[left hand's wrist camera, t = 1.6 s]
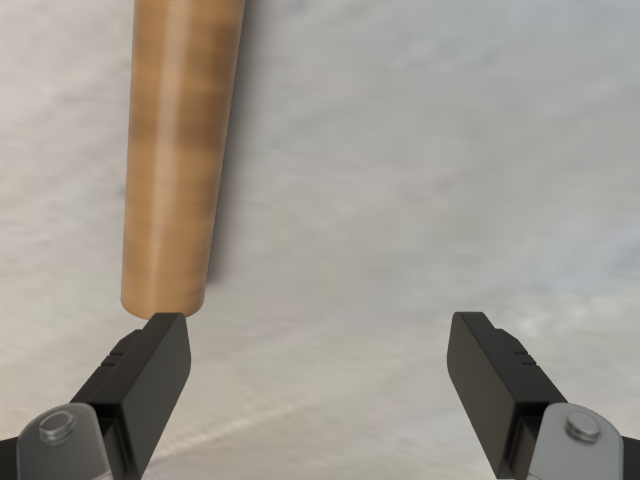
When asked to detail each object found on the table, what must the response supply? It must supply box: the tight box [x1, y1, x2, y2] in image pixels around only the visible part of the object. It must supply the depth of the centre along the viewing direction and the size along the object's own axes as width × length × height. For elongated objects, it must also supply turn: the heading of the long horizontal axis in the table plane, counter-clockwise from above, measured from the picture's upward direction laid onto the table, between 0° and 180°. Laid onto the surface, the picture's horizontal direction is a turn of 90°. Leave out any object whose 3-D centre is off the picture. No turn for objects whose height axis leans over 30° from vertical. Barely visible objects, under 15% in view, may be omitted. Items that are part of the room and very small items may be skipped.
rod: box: [121, 0, 246, 320], centre depth 26 cm, size 24×6×6 cm, turn 167°
